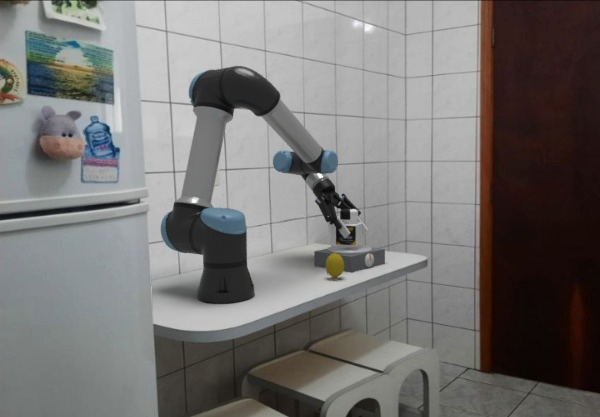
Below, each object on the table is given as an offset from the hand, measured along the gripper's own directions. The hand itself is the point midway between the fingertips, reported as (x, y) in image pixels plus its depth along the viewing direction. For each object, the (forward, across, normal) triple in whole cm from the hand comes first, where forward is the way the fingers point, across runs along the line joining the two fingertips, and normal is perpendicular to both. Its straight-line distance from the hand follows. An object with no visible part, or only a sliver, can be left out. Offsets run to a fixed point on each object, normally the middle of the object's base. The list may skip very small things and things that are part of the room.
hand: (356, 234), depth 178 cm
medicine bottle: (+1, 0, -5) cm, 5 cm away
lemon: (+13, +19, -3) cm, 23 cm away
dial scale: (+5, 0, -10) cm, 11 cm away
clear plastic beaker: (-9, -19, -25) cm, 33 cm away
